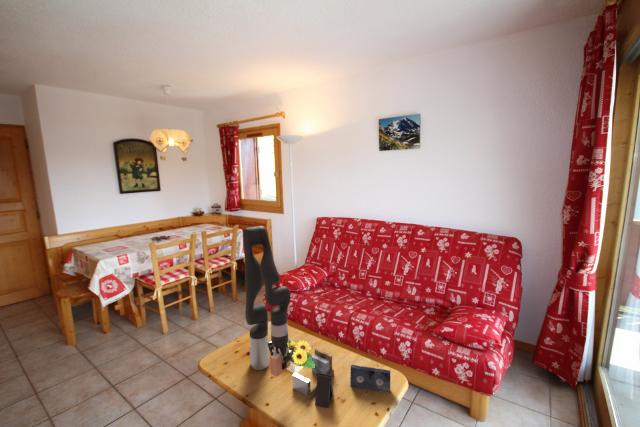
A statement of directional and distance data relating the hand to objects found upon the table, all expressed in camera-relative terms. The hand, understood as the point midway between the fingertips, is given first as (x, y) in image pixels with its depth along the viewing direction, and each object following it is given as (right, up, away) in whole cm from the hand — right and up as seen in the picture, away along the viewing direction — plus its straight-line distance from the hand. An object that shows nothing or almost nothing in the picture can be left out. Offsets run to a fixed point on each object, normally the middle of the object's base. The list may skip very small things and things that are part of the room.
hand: (280, 366), depth 135 cm
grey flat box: (+9, -14, +6) cm, 18 cm away
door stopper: (+19, -15, +1) cm, 25 cm away
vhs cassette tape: (+41, -14, +7) cm, 44 cm away
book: (0, -1, 0) cm, 1 cm away
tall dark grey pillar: (+14, -13, +12) cm, 22 cm away
